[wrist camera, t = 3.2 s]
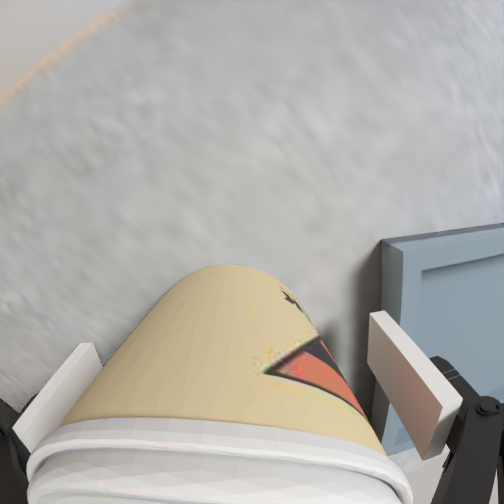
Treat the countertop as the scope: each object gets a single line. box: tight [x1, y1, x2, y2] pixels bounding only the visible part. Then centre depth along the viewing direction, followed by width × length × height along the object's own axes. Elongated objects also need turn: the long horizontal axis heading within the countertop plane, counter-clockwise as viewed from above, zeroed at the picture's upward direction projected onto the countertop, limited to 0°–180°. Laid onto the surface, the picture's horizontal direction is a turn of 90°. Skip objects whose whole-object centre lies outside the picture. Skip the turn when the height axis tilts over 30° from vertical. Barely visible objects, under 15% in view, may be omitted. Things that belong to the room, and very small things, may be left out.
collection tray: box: [370, 223, 504, 456], centre depth 15 cm, size 18×14×2 cm
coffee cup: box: [26, 265, 413, 504], centre depth 10 cm, size 9×9×12 cm
